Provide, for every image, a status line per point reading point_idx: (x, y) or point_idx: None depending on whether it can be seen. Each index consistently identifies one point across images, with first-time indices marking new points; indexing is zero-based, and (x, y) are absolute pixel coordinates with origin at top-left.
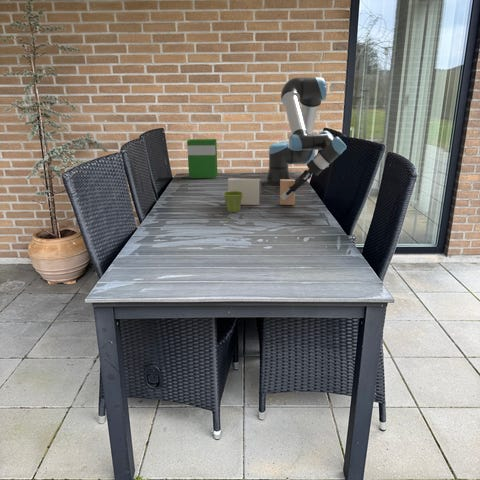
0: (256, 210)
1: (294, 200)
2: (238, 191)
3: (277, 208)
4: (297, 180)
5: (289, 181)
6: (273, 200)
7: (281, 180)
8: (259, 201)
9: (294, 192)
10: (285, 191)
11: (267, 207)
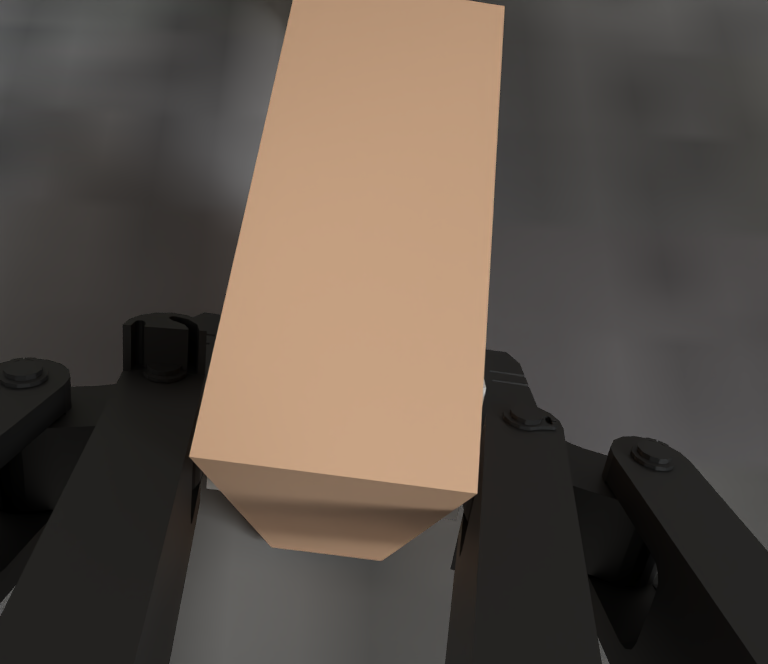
0: (79, 32)
1: (369, 555)
2: None
3: (141, 277)
4: (471, 619)
5: (239, 262)
6: (608, 248)
7: (310, 8)
8: None
9: (298, 528)
10: None
11: (215, 155)
